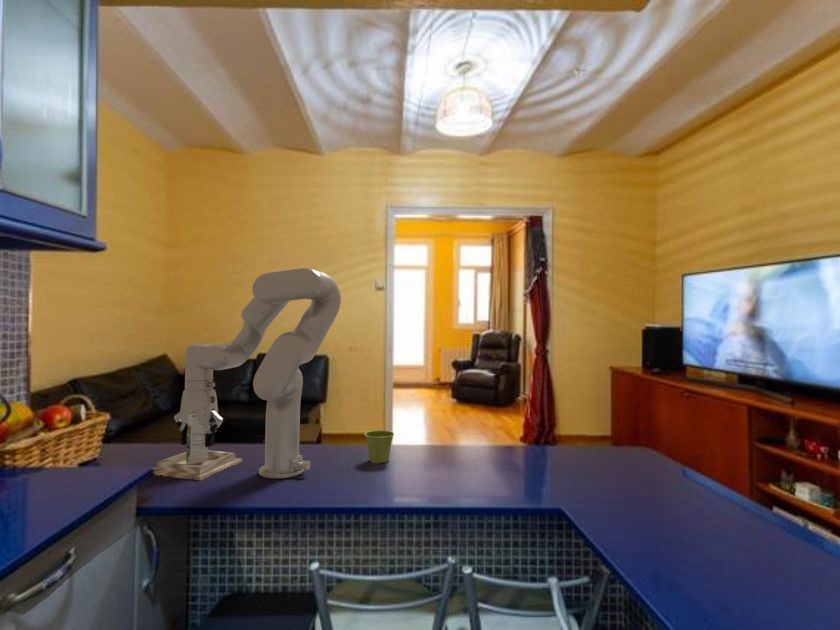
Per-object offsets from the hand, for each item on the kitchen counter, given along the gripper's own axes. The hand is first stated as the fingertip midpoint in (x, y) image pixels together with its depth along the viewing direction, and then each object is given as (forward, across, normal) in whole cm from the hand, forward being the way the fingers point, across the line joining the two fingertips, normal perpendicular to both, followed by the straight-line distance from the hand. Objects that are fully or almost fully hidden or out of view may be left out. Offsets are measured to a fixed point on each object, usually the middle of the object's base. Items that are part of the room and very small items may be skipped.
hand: (197, 444), depth 138 cm
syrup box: (+5, 0, 0) cm, 5 cm away
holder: (+7, 0, 0) cm, 7 cm away
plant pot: (+7, -49, -23) cm, 54 cm away
